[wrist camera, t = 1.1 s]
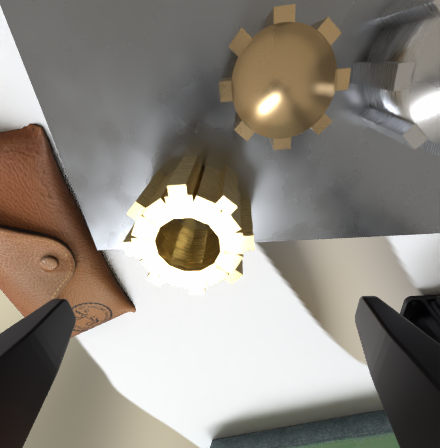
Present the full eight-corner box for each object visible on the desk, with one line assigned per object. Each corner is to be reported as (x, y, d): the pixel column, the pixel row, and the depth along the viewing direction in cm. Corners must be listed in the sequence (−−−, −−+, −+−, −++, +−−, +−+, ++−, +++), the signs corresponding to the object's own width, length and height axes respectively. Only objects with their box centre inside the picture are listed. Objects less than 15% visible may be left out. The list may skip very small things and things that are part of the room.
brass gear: (252, 247, 20) (255, 292, 16) (158, 252, 20) (140, 296, 16) (247, 151, 16) (251, 179, 12) (134, 161, 17) (104, 189, 13)
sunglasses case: (143, 314, 25) (81, 379, 21) (101, 295, 30) (41, 345, 25) (38, 113, 17) (-107, 151, 12) (-2, 124, 21) (-122, 155, 16)
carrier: (431, 223, 19) (509, 288, 14) (104, 241, 21) (58, 303, 16) (605, -293, 9) (1166, -830, 4) (-45, -157, 11) (-306, -360, 6)
